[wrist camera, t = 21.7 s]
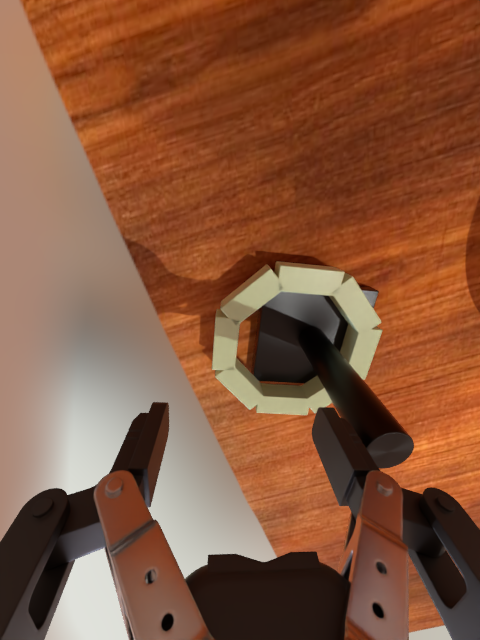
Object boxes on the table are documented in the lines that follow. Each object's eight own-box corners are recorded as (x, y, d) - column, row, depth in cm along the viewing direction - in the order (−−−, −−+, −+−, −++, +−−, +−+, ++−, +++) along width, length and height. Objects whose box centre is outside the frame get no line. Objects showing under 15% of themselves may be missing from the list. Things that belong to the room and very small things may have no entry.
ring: (210, 396, 25) (208, 410, 23) (220, 255, 20) (219, 259, 18) (343, 403, 26) (352, 417, 24) (386, 271, 21) (401, 277, 19)
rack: (251, 372, 26) (271, 515, 13) (263, 278, 22) (307, 354, 10) (343, 376, 27) (444, 517, 14) (369, 286, 23) (540, 368, 10)
